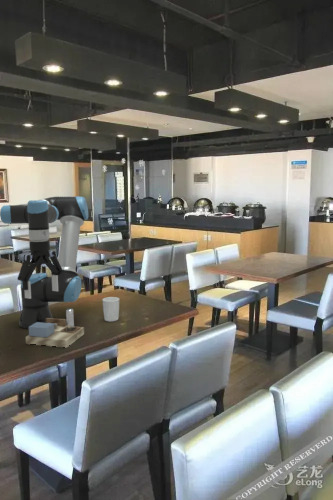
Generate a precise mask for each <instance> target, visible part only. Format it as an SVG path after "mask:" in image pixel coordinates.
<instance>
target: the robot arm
mask: <svg viewBox="0 0 333 500" xmlns="http://www.w3.org/2000/svg"><path fill="white" fill-rule="evenodd" d="M88 207H89V206H88V203H87V200H86V198H85V197H84V196H77V195H75V196H51V197H46V198H42V199H37V200H28V201H27V203H21V204H20V203H19V204H15V205H10V204H8V205H2V207H1V208H0V221H1V222H2V224H8V225H9V224H10V225H13V224H14V225H15V224H18V225H19V224H20V225H21V224H27V225H28V239H29V246H28V247H29V251H30V254H23V260H22V264H21V267H20V270H19V273H18V275H17V281H20V293H21V294H20V296H21V312H20V316H19V320H18V325H19V327H20V328H22V329H28V330H29V326H31V325H33V324H34V323H36V322H41V323H46V318H54V316H53V314H52V312H51V311H52V310H50V306H49V303H73V302H74V303H75V302H76V301H77V300H78V299H79V298H80V294H81V292H82V291H81V290H82V278H81V277H80V276H79V272H77V270H76V268H77V261H78V260H77V259H78V252H79V251H78V249H79V242H80V231H81V227H82V226H83V225H84V224H85V221H87V220H88V219H89V208H88ZM56 221H59V222H60V223H61V224H62V226H61V234H60V242H59V247H58V248H59V249H58V257H57V253H56V252H57V251H56V250H50V249H51V243H50V224H53V223H54V222H56ZM42 265H45V266H46V267H47V268H48V269H49V271H51V273H52V274H51V276H48V273H46V272H39V273H38V272H37V273H34V271H35V269H36V268H37V267H39V266H42Z"/></svg>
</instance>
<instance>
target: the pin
mask: <svg viewBox="0 0 333 500" xmlns="http://www.w3.org/2000/svg"><path fill="white" fill-rule="evenodd" d="M74 316H75V315H74V309H73V308H66V309H65V319H66V326H67V331H74V327H75V321H74V318H75V317H74Z"/></svg>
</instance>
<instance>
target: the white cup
mask: <svg viewBox="0 0 333 500" xmlns="http://www.w3.org/2000/svg"><path fill="white" fill-rule="evenodd" d="M102 310H103V319H104V321H106V322H117V321H118V320H119V313H120V297H116V296H109V297H104V298H102Z"/></svg>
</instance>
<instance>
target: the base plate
mask: <svg viewBox="0 0 333 500" xmlns="http://www.w3.org/2000/svg"><path fill="white" fill-rule="evenodd" d="M46 323H54V333H53V334H51V335H50V336H48V337H37V336H29V334H28V335H27V336H25V344H26V345H30V344H36V345H35V346H41V345H46V346H45V347H52V346H56V347H55V348H63V347H65V349H66V348H68V347H70V346H71V345H72V344H73V343H75V342H76V341H77V340H78V339H80V338H81V337H82V336H83V335H85V327H84V326H74V331H67V323H66V318H54V317H53V318H46ZM69 345H70V346H69Z"/></svg>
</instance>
